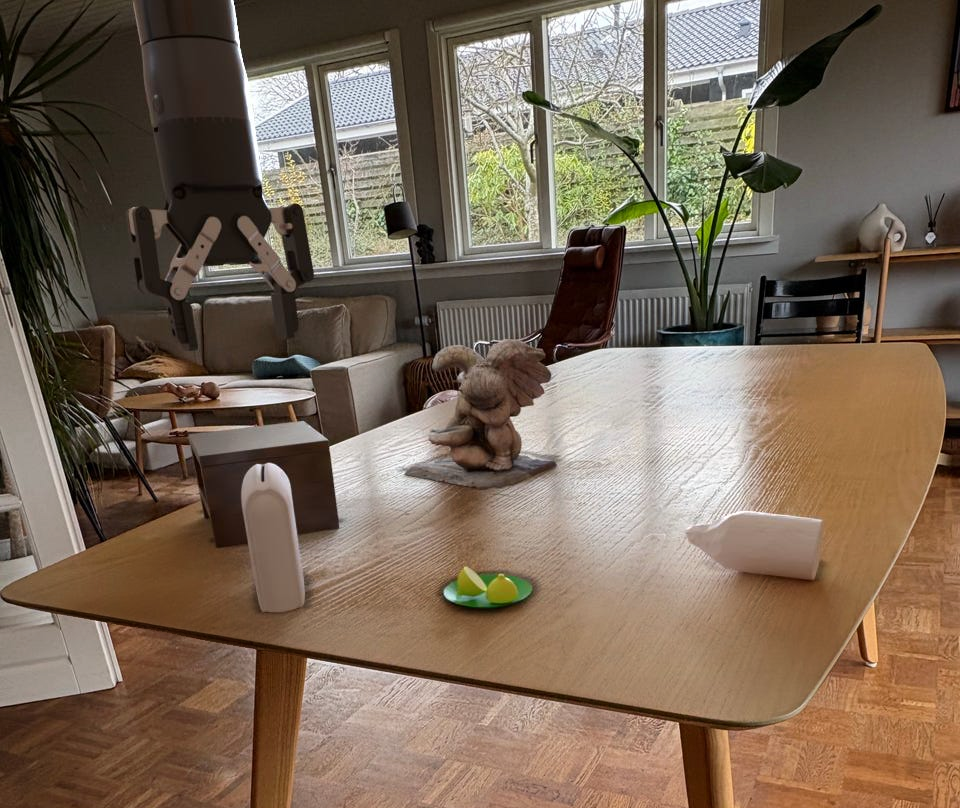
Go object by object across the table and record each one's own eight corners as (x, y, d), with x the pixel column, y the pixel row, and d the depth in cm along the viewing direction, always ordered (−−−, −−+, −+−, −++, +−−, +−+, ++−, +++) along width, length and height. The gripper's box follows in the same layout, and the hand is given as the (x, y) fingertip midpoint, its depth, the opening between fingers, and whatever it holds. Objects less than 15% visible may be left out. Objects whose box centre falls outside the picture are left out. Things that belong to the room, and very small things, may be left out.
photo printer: (260, 581, 82) (239, 456, 77) (304, 576, 83) (286, 452, 78) (258, 622, 73) (234, 482, 68) (308, 615, 74) (287, 477, 68)
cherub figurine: (394, 476, 118) (381, 343, 111) (471, 451, 131) (465, 330, 124) (494, 491, 108) (488, 346, 101) (568, 462, 121) (567, 332, 114)
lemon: (442, 615, 72) (440, 585, 71) (445, 582, 79) (443, 554, 78) (534, 611, 72) (534, 580, 71) (529, 578, 79) (528, 550, 78)
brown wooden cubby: (216, 547, 93) (198, 456, 88) (203, 516, 104) (187, 434, 100) (339, 527, 97) (328, 439, 93) (314, 500, 109) (303, 420, 105)
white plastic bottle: (691, 553, 83) (695, 498, 81) (819, 567, 78) (827, 509, 76) (675, 573, 79) (678, 515, 76) (810, 589, 74) (818, 528, 71)
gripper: (269, 130, 70) (296, 334, 77) (92, 123, 62) (140, 351, 69) (310, 116, 64) (335, 338, 71) (121, 107, 57) (170, 357, 64)
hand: (239, 344), depth 70 cm, fingers open, 8 cm apart
